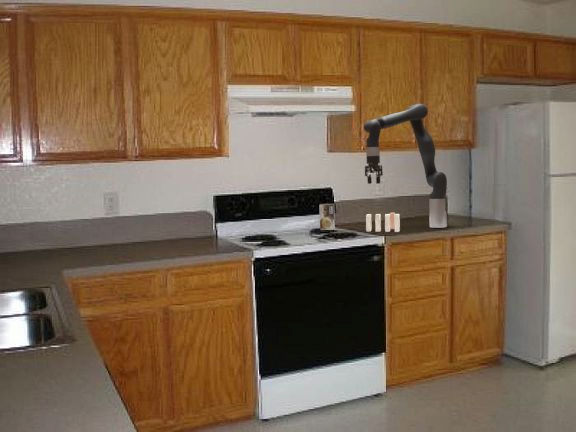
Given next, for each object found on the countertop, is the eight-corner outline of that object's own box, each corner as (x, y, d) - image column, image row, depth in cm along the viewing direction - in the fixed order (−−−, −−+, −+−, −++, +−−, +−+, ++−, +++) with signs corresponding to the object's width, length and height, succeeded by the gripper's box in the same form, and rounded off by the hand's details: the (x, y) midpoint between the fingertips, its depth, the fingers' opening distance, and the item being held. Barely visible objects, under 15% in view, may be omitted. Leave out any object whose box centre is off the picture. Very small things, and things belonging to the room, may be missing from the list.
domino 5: (399, 231, 352) (399, 213, 352) (398, 231, 348) (398, 214, 347) (395, 231, 353) (395, 214, 352) (394, 231, 348) (394, 214, 348)
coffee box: (335, 229, 371) (334, 203, 370) (334, 230, 364) (334, 204, 363) (320, 230, 372) (319, 203, 370) (319, 231, 365) (319, 204, 364)
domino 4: (395, 228, 366) (395, 212, 365) (394, 229, 361) (394, 213, 360) (391, 228, 366) (391, 212, 366) (390, 229, 362) (389, 213, 361)
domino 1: (371, 230, 357) (371, 214, 357) (370, 231, 353) (370, 214, 352) (367, 230, 358) (367, 214, 357) (366, 231, 353) (365, 214, 353)
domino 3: (390, 231, 354) (390, 214, 353) (389, 231, 349) (389, 214, 349) (386, 231, 355) (386, 214, 354) (385, 231, 350) (384, 214, 349)
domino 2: (380, 231, 356) (380, 214, 355) (379, 231, 351) (379, 214, 350) (376, 231, 356) (376, 214, 356) (375, 231, 352) (375, 214, 351)
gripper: (385, 154, 341) (386, 183, 342) (371, 155, 353) (372, 183, 355) (374, 155, 337) (375, 183, 339) (360, 156, 350) (361, 183, 351)
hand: (373, 183), depth 347 cm, fingers open, 8 cm apart
